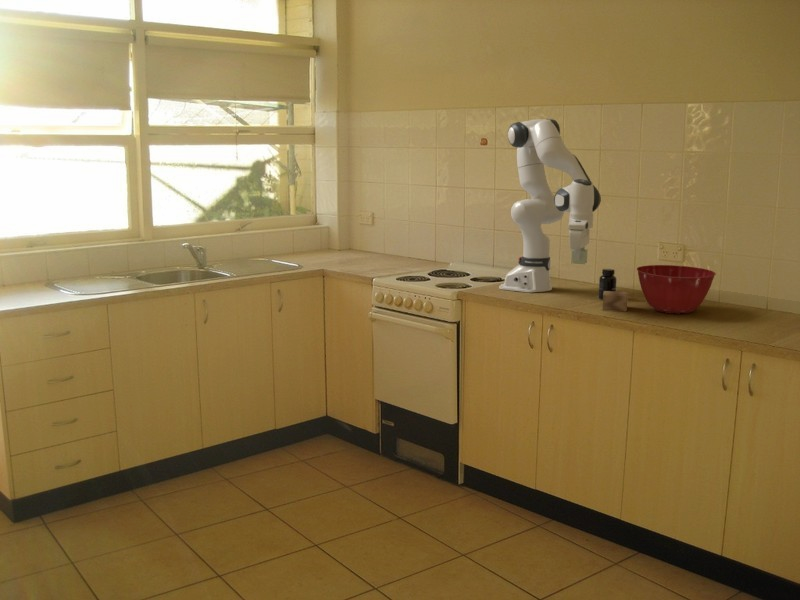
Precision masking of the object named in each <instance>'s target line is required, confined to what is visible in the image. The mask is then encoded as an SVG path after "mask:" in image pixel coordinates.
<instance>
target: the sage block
mask: <svg viewBox="0 0 800 600" xmlns="http://www.w3.org/2000/svg"><path fill="white" fill-rule="evenodd" d="M587 262H588V249H586V248H585V249H581V251H580V260H575V252H574V250H571V265H572V264H573V265H585V264H587Z"/></svg>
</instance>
